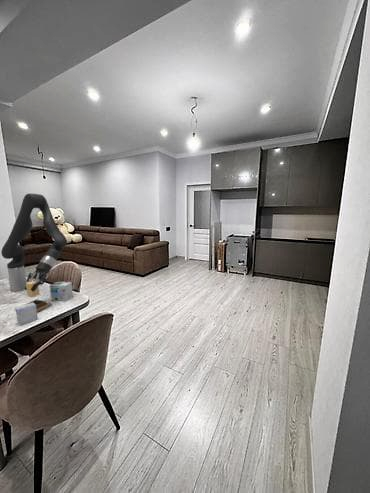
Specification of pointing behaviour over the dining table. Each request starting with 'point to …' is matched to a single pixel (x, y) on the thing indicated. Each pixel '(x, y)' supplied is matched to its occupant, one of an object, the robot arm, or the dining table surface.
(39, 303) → the walnut dock
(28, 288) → the ochre post
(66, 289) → the light bulb box
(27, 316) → the medicine box
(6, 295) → the dining table surface
